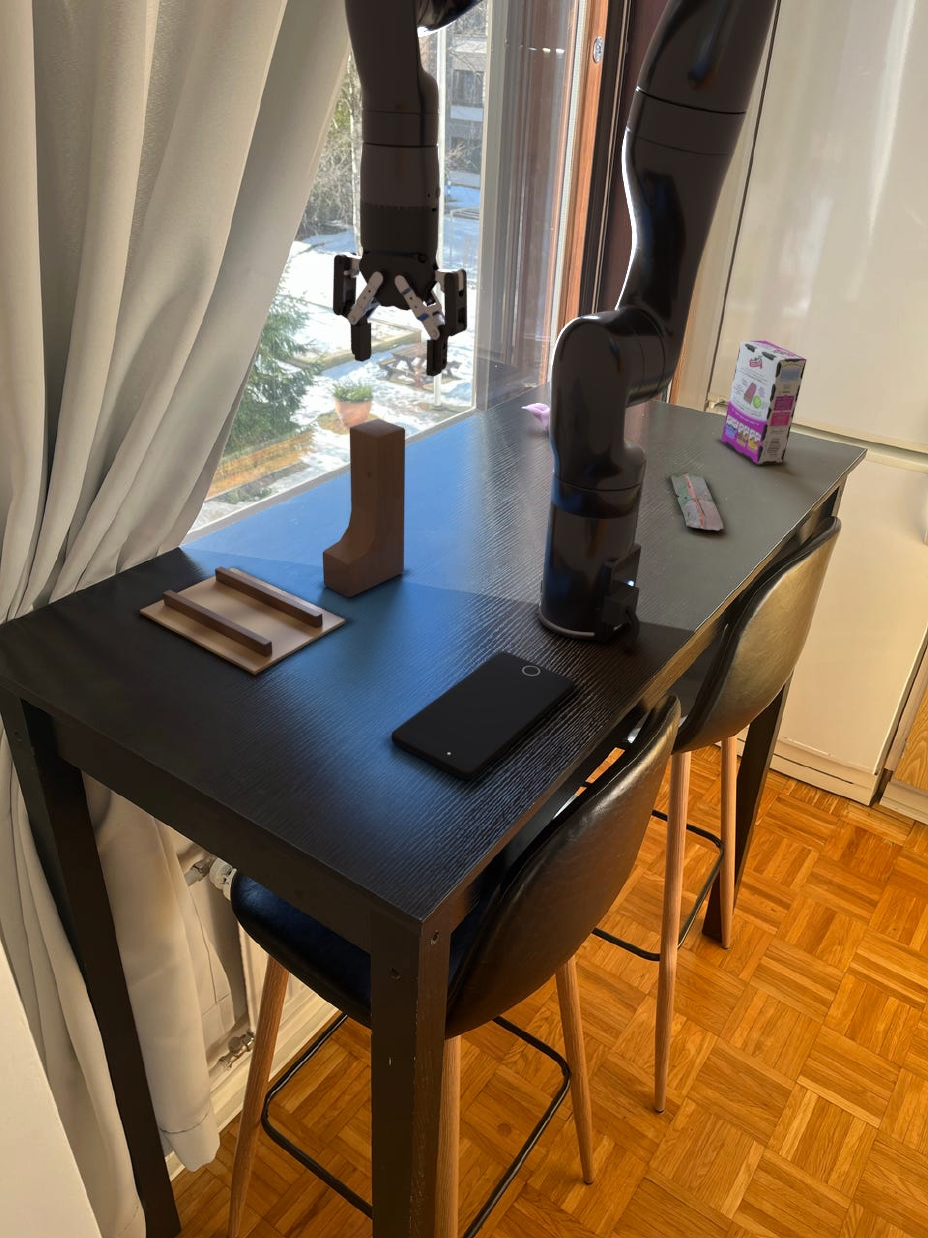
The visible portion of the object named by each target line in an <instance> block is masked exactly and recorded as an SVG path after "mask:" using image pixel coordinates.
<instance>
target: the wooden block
mask: <svg viewBox="0 0 928 1238" xmlns="http://www.w3.org/2000/svg"><path fill="white" fill-rule="evenodd" d="M349 460H350V461H349V468H350V470H349V471H350V473H349V474H350V507H351V508H350V509H351V510H350V515H349V521H348V526H347V527H346V529H345V531H344V532H343V535H342V536H341V538H340V540H339V541H337V542H335V543H334V544H331V545H330V546H328V547H327V548H326V549H324V550H323V552H322V573H323V577H322V578H323V585H324V586H325V587H327V588H329V589H331V590H333V591H334V592H336V593H338V594H341V595H342V596H344V597H345V598H352V597H354V596H357V595H359V594H360V593H363V592H365V591H367V590H369V589H371V588H373V587H376V586H378V585H380V584H382V583H384V582H386V581H388V580H391V579H392V578H395V577H397V576H399V575H402V574H403V573H404V571H405V501H406V500H405V499H406V497H405V495H406V494H405V491H406V490H405V489H406V486H405V483H406V482H405V481H406V475H405V474H406V429H405V428H404V427H403V426H400V425H397V424H394V423H391V422H389V421H387V420H386V421H385V420H383V419H381V418H375V419H371V420H369V421H366V422H362V423H360V424H359V423H358V424H356V425H353V426H351V427H349Z"/></svg>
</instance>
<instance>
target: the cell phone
mask: <svg viewBox="0 0 928 1238" xmlns="http://www.w3.org/2000/svg"><path fill="white" fill-rule="evenodd" d="M575 685H576V682H575V680H573V679H572V678H569V677H567V676H565V675H563V674H560V673H558V672H555V671H553V670H550V669H549V668H547V667H544V666H542V665H539V664H537V663H534V662H532V661H530V660H527V659H524V658H523V657H520V656H519V655H515V654H513V653H511V652H508V651H505V650H501V651H499V652H497V653H496V654H494V655H493V656H492V657H491V658H489V659H487V660H486V661H485V662H484V663H483V664H481V665H480V666H479V667H476V669H474V670H473V671H472V672H470V673H469V674H468V675H466V676H465V677H464V678H462V679H461V680H460V681H458V682H457V683H455V684H454V685H453V686H452V687H450V688H449V689H447V690H446V691H445V692H444V693H442V694H441V695H439V696H438V697H436V699H435V700H433V701H432V702H430V703H429V704H428V705H426V706H425V707H424V708H422V709H421V710H419V711H418V712H417V713H416V714H414V715H413V716H412V717H410V718H409V719H408V720H405V722H403V723H402V724H401V725H400V726H398V727H397V728H396V729H394V730H393V731H392V732H391V742H392V743H393V744H394V745H395V746H397V747H399V748H401V749H403V750H405V751H406V752H409V753H411V754H413V755H415V756H416V757H418V758H420V759H422V760H424V761H426V762H428V763H430V764H432V765H434V766H435V767H438V768H440V769H441V770H444V771H446V772H447V773H449V774H452V775H453V776H455V777H457V778H458V779H461V780H464V781H470V780H473V779H474V778H475V777H476V776H477V775H478V774H479V773H480V772H481V771H482V770H483V769H485V768H486V767H487V766H488V765H489V764H490V763H491V762H492V761H494V760H495V759H496V758H497V757H498V756H500V755H501V754H502V753H503V752H504V751H505V750H507V748H508V747H510V746H511V745H512V744H513V743H514V742H515V741H517V740H518V738H520V737H521V736H522V735H523V734H524V733H526V732H527V731H528V730H529V729H530V728H531V727H533V725H534V724H536V723H537V722H538V721H539V720H540V719H542V718H543V717H544V715H546V714H548V712H549V711H550V710H551V709H553V708H554V707H556V705H557V704H558V703H559V702H560V701H562V700H563V699H564V698H565V697H566V696H568V695H569V694H570V693H571V692H572V691H574V690H575Z"/></svg>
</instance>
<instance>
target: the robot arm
mask: <svg viewBox="0 0 928 1238" xmlns="http://www.w3.org/2000/svg"><path fill="white" fill-rule="evenodd" d="M483 1H484V0H344V1H343V2H344V13H345V20H346V25H347V30H348V35H349V40H350V45H351V50H352V54H353V59H354V64H355V68H356V73H357V75H358V76H357V77H358V81H359V83H360V88H361V89H360V90H361V141H362V142H361V150H360V151H361V152H360V161H359V233H360V234H359V239H360V241H359V242H360V246H361V248H362V254H361V256H360V255H357V253H356V252H355V251H353V250H350V251H347V252H343V253H340V254H336V255H334V258H333V276H332V277H333V279H332V281H333V284H332V312H333V314H334V315H336V316H341V317H343V318H344V319H346V320H347V321H348V323H349V326H350V351H351V354H352V355H354V361H356V362H361V363H364V362H366V361H368V360H370V359H371V357H372V322H371V321H369V319H370V318H371V317H372V315H373V314H374V312H375V311H376V310H377V308H378V307H379V306H380V307H383V308H391V307H394V308H396V309H399V310H400V311H405V312H406V311H407V312H408V311H410V310H411V312H412V314H413V315H414V317H415V319H416V320H417V321H419V322H421V324H422V326H423V327H424V329H425V331H426V333H427V335H428V336H429V338H428V339H426V365H425V374H426V375H427V376H429V377H433V378H434V377H436V376H438V375H440V374H441V373H442V372H443V370H445V369H446V367H447V366H448V349H449V348H448V346H449V337H454V336H456V335H458V334H460V333H463V332H465V331H466V330H467V329H468V274H467V273H468V272H467V271H466V269H465V268H462V267H459V268H455V269H440V267H439V265H438V261H437V254H438V249H439V233H440V232H439V230H440V228H439V227H440V198H441V166H440V165H441V164H440V156H439V131H440V130H439V129H440V113H439V112H440V92H439V91H440V90H439V85H438V81H437V80H436V78H435V77H434V76H433V75H432V74H431V73H430V72H428V71H426V70H425V68H424V66H423V63H422V62H423V61H422V55H421V54H422V53H421V45H420V37H424V36H428V35H431V34H433V33H436V32H438V31H441V30H442V29H444V28H447V27H448V26H450V25H451V24H453V23H455V22H456V21H458V20H459V19H461V17H464V16H465V15H466V14H467V13H469V12H470V11H471V10H473V9H474V8H475V7H476V6H477V5H479V4H481V3H482V2H483ZM776 2H777V0H667V3H666V5H665V6H664V9H663V11H662V13H661V15H660V18H659V20H658V22H657V24H656V27H655V30H654V31H653V34H652V37H651V39H650V42H649V44H648V47H647V49H646V52H645V55H644V58H643V62H642V64H641V68H640V70H639V74H638V76H637V77H638V78H637V81H636V87H635V90H634V94H633V99H632V102H631V106H630V110H629V114H628V117H627V122H626V127H625V131H624V138H623V143H622V151H621V167H622V168H621V169H622V178H623V184H624V185H623V186H624V190H625V197H626V202H627V207H628V213H629V217H630V223H631V231H632V232H631V233H632V236H631V237H632V242H631V243H632V244H631V254H630V258H629V264H628V268H627V273H626V276H625V280H624V283H623V286H622V290H621V293H620V296H619V298H618V301H617V304H616V306H615V308H614V309H609V310H605V311H599V312H595V313H594V312H593V313H590V314H585V315H582V316H578V317H575V318H574V319H571V321H569V322H568V323H567V324H565V326H564V327H563V328H562V330H561V331H560V333H559V335H558V336H557V337H558V338H557V340H556V342H555V346H554V349H553V354H552V358H551V367H550V382H549V383H550V384H549V385H550V387H549V407H550V411H549V432H548V437H549V443H550V447H551V450H552V456H553V467H552V476H551V485H550V487H551V488H550V495H549V496H550V497H549V507H548V508H549V509H548V517H547V527H546V528H547V529H546V538H545V549H544V559H543V571H542V580H541V582H540V592H539V593H540V597H539V598H540V599H539V600H540V602H539V606H538V619H539V621H540V622H541V624H542V625H543V626H544V627H545V628H546V629H548V630H549V631H551V632H553V633H554V634H557V635H560V636H562V637H566V638H569V639H574V640H581V641H595V642H598V643H601V644H604V643H606V642H607V641H608V640H609V639H610V638H612V637H613V636H614V635H616V634H617V633H619V632H620V631H621V630H622V629H623V628H624V627H625V626H627V624H629V623H631V632H630V634H629V636H628V637H627V639H626V640H625V642H624V645H625V646H626V647H628V648H632V647H633V645H634V643H635V642H636V640H637V639H638V637H639V634H640V631H641V624H640V620H639V617H638V615H637V608H638V601H639V596H640V595H639V594H640V590H641V589H640V587H637V586H636V585H637V578H638V573H639V572H638V571H639V566H640V561H641V553H642V545H641V544H639V543H637V542H636V541H635V540H636V534H637V527H638V520H639V514H640V507H641V501H642V494H643V487H644V480H645V475H646V469H647V460H648V458H647V457H648V456H647V452H646V450H645V449H644V447H643V446H642V445H641V444H639V442H638V441H635V440H633V439H631V438H628V437H625V422H626V410H627V409H628V408H632V407H635V406H638V405H641V404H645V403H647V402H650V401H653V400H654V399H656V398H657V397H659V396H660V395H661V394H662V393H664V392H665V390H666V389H667V387H669V385H670V384H671V382H672V380H673V378H674V376H675V374H676V371H677V369H678V366H679V362H680V359H681V355H682V352H683V346H684V343H685V342H684V341H685V336H686V331H687V326H688V321H689V317H690V312H691V306H692V302H693V301H692V300H693V296H694V293H695V288H696V287H695V286H696V282H697V278H698V273H699V271H700V266H701V262H702V258H703V256H704V251H705V248H706V245H707V242H708V238H709V237H710V232H711V229H712V225H713V222H714V218H715V215H716V211H717V208H718V204H719V202H720V198H721V194H722V191H723V188H724V184H725V182H726V178H727V176H728V173H729V170H730V167H731V164H732V161H733V159H734V156H735V152H736V149H737V146H738V142H739V139H740V135H741V134H742V130H743V126H744V123H745V121H746V117H747V114H748V110H749V107H750V103H751V100H752V96H753V92H754V88H755V85H756V81H757V77H758V74H759V70H760V66H761V64H762V63H761V62H762V59H763V55H764V51H765V47H766V43H767V40H768V35H769V33H770V28H771V24H772V19H773V15H774V11H775V6H776V4H777V3H776ZM360 274H361V276H362V277H363V280H364V282H365V283H366V285H365V287H364V288H363V290H362V291H361V292H360V294H359V296H358V297H357V277H358V276H359V275H360ZM437 284H439V287H440V289H439V290H440V291H441V293H442V294H443V296H444V297H443V299H444V301H443V302H444V303H443V304H444V312H443V306H442V303H441V302H440V299H439V298H438V296H437V295H436V292H435V290H434V288H435V287H436V285H437ZM424 303H425V304H424Z"/></svg>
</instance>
